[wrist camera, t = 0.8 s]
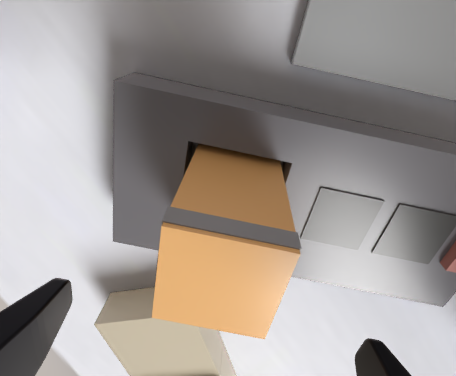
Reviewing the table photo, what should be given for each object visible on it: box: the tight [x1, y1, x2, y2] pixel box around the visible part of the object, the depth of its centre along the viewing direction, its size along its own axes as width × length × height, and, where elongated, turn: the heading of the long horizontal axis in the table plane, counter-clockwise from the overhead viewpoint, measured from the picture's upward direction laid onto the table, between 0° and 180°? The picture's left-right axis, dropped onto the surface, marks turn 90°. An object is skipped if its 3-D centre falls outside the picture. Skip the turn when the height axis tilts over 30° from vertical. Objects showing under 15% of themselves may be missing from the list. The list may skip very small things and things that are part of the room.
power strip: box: [113, 73, 456, 307], centre depth 16 cm, size 24×9×3 cm, turn 79°
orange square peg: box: [152, 143, 302, 339], centre depth 13 cm, size 4×4×8 cm
